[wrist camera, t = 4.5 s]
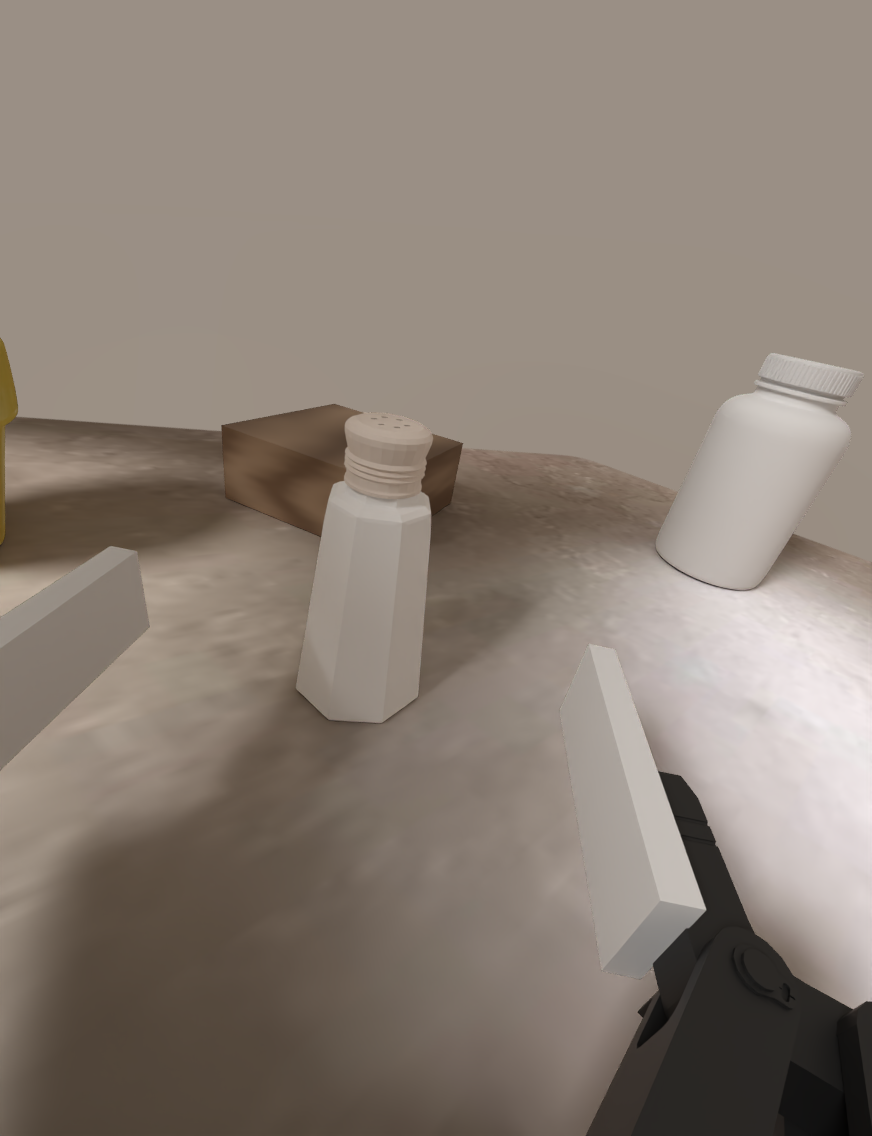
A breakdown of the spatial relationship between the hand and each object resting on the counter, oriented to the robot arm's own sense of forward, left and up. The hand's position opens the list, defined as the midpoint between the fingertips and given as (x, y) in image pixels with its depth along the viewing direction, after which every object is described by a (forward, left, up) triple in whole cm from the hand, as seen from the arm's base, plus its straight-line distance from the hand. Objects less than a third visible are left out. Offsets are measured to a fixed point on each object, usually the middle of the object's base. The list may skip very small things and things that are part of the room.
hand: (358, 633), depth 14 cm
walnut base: (-13, +19, -6) cm, 23 cm away
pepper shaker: (-2, +4, -6) cm, 7 cm away
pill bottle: (+13, +30, -6) cm, 33 cm away
